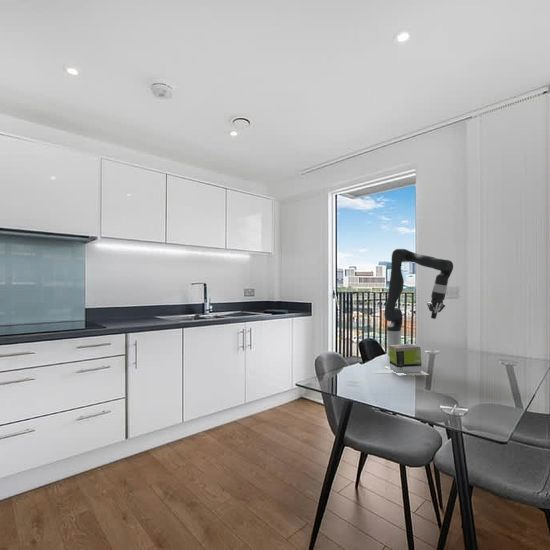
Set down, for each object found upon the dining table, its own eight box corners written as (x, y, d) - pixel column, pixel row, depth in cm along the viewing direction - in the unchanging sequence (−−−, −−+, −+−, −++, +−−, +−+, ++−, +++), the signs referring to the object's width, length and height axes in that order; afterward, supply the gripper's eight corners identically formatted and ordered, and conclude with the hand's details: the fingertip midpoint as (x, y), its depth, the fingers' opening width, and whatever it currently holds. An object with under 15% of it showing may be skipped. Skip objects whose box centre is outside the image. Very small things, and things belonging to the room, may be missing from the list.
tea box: (413, 367, 200) (412, 343, 201) (421, 372, 190) (421, 346, 191) (389, 368, 199) (388, 344, 199) (396, 373, 189) (396, 347, 189)
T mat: (364, 368, 203) (364, 367, 203) (411, 365, 206) (411, 365, 206) (378, 377, 183) (378, 377, 183) (429, 375, 186) (429, 374, 186)
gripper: (442, 291, 211) (436, 317, 213) (426, 289, 206) (420, 316, 208) (452, 293, 204) (446, 320, 206) (435, 292, 199) (429, 319, 201)
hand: (433, 318), depth 207 cm, fingers closed
